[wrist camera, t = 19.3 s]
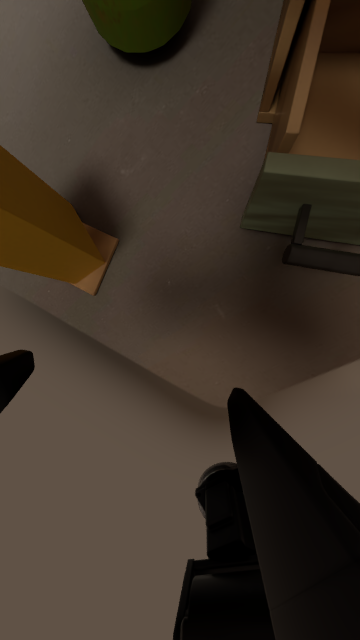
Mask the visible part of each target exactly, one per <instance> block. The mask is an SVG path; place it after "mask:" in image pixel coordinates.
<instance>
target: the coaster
mask: <svg viewBox="0 0 360 640" xmlns="http://www.w3.org/2000/svg"><path fill="white" fill-rule="evenodd" d="M83 225H84V227H85V228H86V230H87V232H88V234H89V235H90V237H91V239H92V240H93V242H94V244H95V246H96V247H97V249H98V251H99V252H100V254H101V256H102V258H103V259H104V261H105V264H103V265H102V266H100V267H99V268H98V269H96V270H95V271H93V272H92V273H90V274H89V275H88V276H86V277H85V278H83V279H82V280H80V281H79V282H77V283H76V284H74V283H70V284H72V285H74V286H76V287H78V288H80V289H82V290H84V291H86V292H88V293H90V294H91V295H94V296H95V295H96V293H97V291H98V288H99V286H100V284H101V281H102V279H103V277H104V275H105V272H106V270H107V268H108V265H109V263H110V261H111V258H112V256H113V254H114V251H115V249H116V247H117V245H118V242H119V240H118V239H117V238H114V237H112V236H110V235H108V234H106V233H104V232H101V231H99V230H97V229H95V228H93V227H91V226H88V225H86V224H84V223H83ZM68 283H69V282H68Z"/></svg>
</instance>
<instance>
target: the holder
mask: <svg viewBox="0 0 360 640" xmlns="http://www.w3.org/2000/svg"><path fill="white" fill-rule="evenodd" d="M103 264H105V261H104V259H103V258H102V256H101V254H100V252H99V251H98V249H97V247H96V246H95V244H94V242H93V240H92V239H91V237H90V235H89V234H88V232H87V230H86V228H85V227H84V225H83V223H82V222H81V220H80V218H79V216H78V215H77V213H76V211H75V210H74V208H73V206H72V205H71V204H70V203H69V202H68V201H67V200H65V199H64V198H63V197H62V196H61V195H59V194H58V193H57V192H56V191H55V190H53V189H52V188H51V187H50V186H49V185H47V184H46V183H45V182H44V181H43V180H41V179H40V178H39V177H38V176H37V175H35V174H34V173H33V172H32V171H31V170H29V169H28V168H27V167H26V166H25V165H23V164H22V163H21V162H20V161H19V160H17V159H16V158H15V157H14V156H13V155H11V154H10V153H9V152H8V151H7V150H5V149H4V148H3V147H2V146H1V145H0V266H2V267H6V268H11V269H15V270H19V271H23V272H27V273H32V274H36V275H40V276H44V277H48V278H53V279H57V280H61V281H65V282H69V283H74V284H76V283H77V282H79V281H80V280H82V279H83V278H85V277H86V276H88V275H89V274H90V273H92V272H93V271H95V270H96V269H98V268H99V267H100V266H102V265H103Z"/></svg>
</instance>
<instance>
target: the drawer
mask: <svg viewBox="0 0 360 640" xmlns="http://www.w3.org/2000/svg"><path fill="white" fill-rule="evenodd" d="M240 228H245V229H252V230H259V231H266V232H273V233H280V234H286V235H292V240H291V244H289V245H288V246H287V248H286V249H285V251H284V254H283V257H282V263H283V264H288V265H294V266H300V267H306V268H312V269H318V270H324V271H330V272H336V273H342V274H348V275H354V276H360V254H357V253H350V252H343V251H337V250H330V249H324V248H317V247H310V246H304V245H302V243H303V239H304V237H307V238H314V239H321V240H328V241H335V242H341V243H348V244H355V245H360V0H306V2H305V5H304V8H303V12H302V15H301V18H300V21H299V24H298V27H297V30H296V33H295V36H294V39H293V42H292V45H291V48H290V51H289V54H288V58H287V63H286V67H285V72H284V76H283V80H282V85H281V89H280V94H279V98H278V102H277V107H276V111H275V115H274V120H273V124H272V129H271V133H270V137H269V142H268V146H267V150H266V155H265V159H264V163H263V165H262V168H261V170H260V173H259V176H258V178H257V181H256V183H255V186H254V188H253V191H252V193H251V196H250V198H249V201H248V203H247V206H246V208H245V211H244V213H243V216H242V220H241V225H240Z"/></svg>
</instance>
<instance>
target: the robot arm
mask: <svg viewBox="0 0 360 640" xmlns="http://www.w3.org/2000/svg"><path fill="white" fill-rule="evenodd" d="M34 367H35V366H34V358H33V353H32V352H31V351H27V350H17V351H14V352H10V353H7V354H4V355H0V413H1V412H2V411H3V409H4V408H5V407H6V406H7V405H8V404H9V402H10V401H11V400H12V399H13V397H14V396H15V395H16V393H17V392H18V391H19V390H20V388H21V387H22V385H23V384H24V383H25V382H26V380H27V379H28V378H29V376H30V375H31V374H32V372H33V370H34ZM227 405H228V413H229V422H230V430H231V437H232V443H233V448H234V452H235V457H236V462H237V466H238V468H236V469H234V470H232V471H230V472H228V473H226V474H224V475H222V476H220V477H218V478H216V479H214V480H212V481H210V482H208V483H206V484H204V485H202V486H200V487H198V488H196V490H195V496H196V498H197V500H198V501H199V503H200V504H201V506H202V508H203V509H204V511H205V513H206V526H207V556H208V559H205V560H194V559H189V560H188V563H187V567H186V572H185V576H184V581H183V586H182V591H181V596H180V602H179V607H178V612H177V617H176V622H175V628H174V633H173V640H360V503H359V502H358V501H357V500H355V499H354V498H353V497H352V496H351V495H350V494H349V493H348V492H347V491H346V490H345V489H344V488H342V486H341V485H340V484H339V483H337V481H335V480H334V479H333V478H332V477H331V476H330V475H329V474H328V473H327V472H326V471H325V470H324V469H323V468H322V467H321V466H320V465H319V464H317V462H316V461H315V460H314V459H313V458H312V457H311V456H310V455H309V454H308V453H307V452H306V451H305V450H304V449H303V448H302V447H301V446H300V445H299V444H298V443H297V442H296V441H295V440H294V439H293V438H292V437H291V436H290V435H289V434H288V433H287V432H286V431H285V430H284V429H283V428H282V427H281V426H280V425H279V424H278V423H277V422H276V421H275V420H274V419H273V418H272V417H271V416H270V415H269V414H268V413H267V412H266V411H265V410H264V409H263V408H262V407H261V406H260V405H259V404H258V403H257V402H256V401H255V400H254V399H253V398H252V397H251V396H250V395H249V394H248V393H247V392H246V391H245V390H243V389H241V388H234V389H233V390H232V392H231V394H230V397H229V399H228V403H227ZM238 473H239V474H238ZM199 493H200V494H199Z"/></svg>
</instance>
